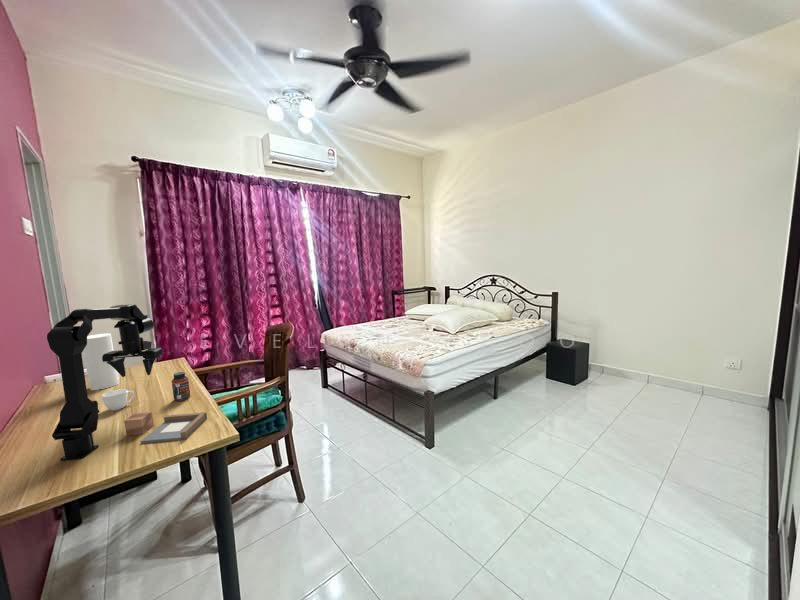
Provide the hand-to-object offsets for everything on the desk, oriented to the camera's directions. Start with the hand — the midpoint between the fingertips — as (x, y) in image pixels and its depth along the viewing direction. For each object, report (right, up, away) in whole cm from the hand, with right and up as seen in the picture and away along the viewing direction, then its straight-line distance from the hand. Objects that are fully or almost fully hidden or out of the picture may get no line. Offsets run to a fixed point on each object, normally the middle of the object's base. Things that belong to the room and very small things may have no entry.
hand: (136, 375), depth 128 cm
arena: (+25, -16, -14) cm, 33 cm away
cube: (+12, -16, -13) cm, 24 cm away
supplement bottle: (+10, -13, +12) cm, 20 cm away
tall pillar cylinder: (-41, -13, +32) cm, 54 cm away
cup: (-12, -15, +7) cm, 20 cm away
